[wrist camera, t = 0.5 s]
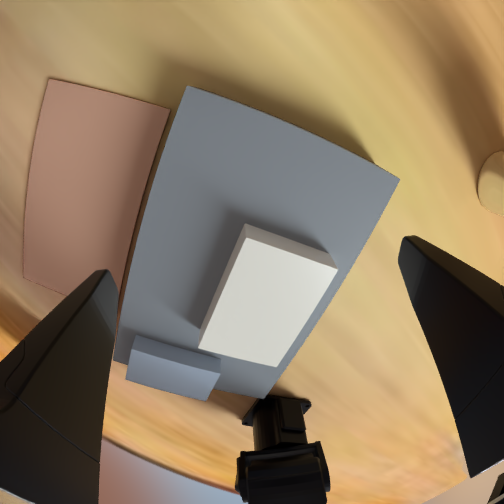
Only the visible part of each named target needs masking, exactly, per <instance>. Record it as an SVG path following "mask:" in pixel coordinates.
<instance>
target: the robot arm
mask: <svg viewBox="0 0 504 504" xmlns="http://www.w3.org/2000/svg"><path fill="white" fill-rule="evenodd" d="M398 264H399V267H400V270H401V273H402V276H403V279H404V282H405V285H406V288H407V291H408V294H409V297H410V300H411V303H412V306H413V308H414V311H415V313H416V315H417V318H418V320H419V322H420V325H421V327H422V330H423V332H424V335H425V337H426V340H427V342H428V345H429V347H430V350H431V352H432V355H433V358H434V360H435V363H436V366H437V368H438V371H439V374H440V377H441V379H442V382H443V385H444V388H445V391H446V394H447V397H448V400H449V403H450V406H451V409H452V413H453V416H454V419H455V423H456V426H457V430H458V433H459V437H460V440H461V444H462V448H463V452H464V456H465V459H466V464H467V468H468V472H469V475H470V478H473V477H475V476H476V475H478V474H480V473H482V472H484V471H486V470H488V469H490V468H491V467H493V466H495V465H497V464H498V463H500V462H502V461H503V460H504V286H502V285H500V284H499V283H498V282H496V281H494V280H493V279H491V278H489V277H488V276H486V275H485V274H483V273H481V272H480V271H478V270H476V269H475V268H473V267H471V266H470V265H468V264H466V263H464V262H463V261H461V260H459V259H457V258H456V257H454V256H452V255H450V254H449V253H447V252H445V251H443V250H442V249H440V248H438V247H436V246H434V245H433V244H431V243H429V242H427V241H425V240H423V239H421V238H420V237H418V236H415V235H412V236H405V237H404V238H403V239H402V243H401V247H400V252H399V256H398ZM118 299H119V292H118V288H117V286H116V284H115V281H114V279H113V277H112V274H111V272H110V271H109V270H108V269H101V270H96V271H94V272H93V273H92V274H91V275H90V276H89V277H88V278H87V279H86V280H84V281H83V282H82V283H81V284H80V285H79V286H78V287H77V288H76V289H75V290H73V291H72V292H71V293H70V294H69V295H68V296H67V297H66V298H65V299H64V300H63V301H62V302H61V303H59V304H58V305H57V306H56V307H55V308H54V309H53V310H52V311H51V312H50V313H49V314H48V315H47V316H46V317H45V318H44V319H43V320H42V321H41V322H40V323H39V324H38V325H37V326H36V327H35V328H34V329H33V330H32V331H31V332H30V333H29V334H28V335H27V336H26V337H25V338H24V339H23V340H22V341H21V342H20V343H19V344H18V345H17V346H16V347H15V348H14V349H13V350H12V351H11V352H10V353H9V354H8V355H7V356H6V357H5V358H4V359H3V360H2V361H1V362H0V504H98V496H99V471H100V464H99V462H100V453H101V440H102V429H103V420H104V411H105V402H106V394H107V387H108V380H109V373H110V367H111V360H112V354H113V349H114V342H115V334H116V322H117V310H118ZM310 407H311V402H310V401H304V400H298V399H291V398H285V397H279V396H273V395H266V397H265V398H264V399H261V398H258V399H257V401H256V402H255V403H254V405H253V406H252V407H251V409H250V410H249V411H248V413H247V414H246V416H245V417H244V418H243V420H242V425H246V426H252V427H253V436H254V449H255V451H247V452H246V451H240V457H239V458H237V475H236V481H235V490H236V491H237V492H239V493H240V495H241V497H242V500H243V502H244V503H246V502H248V504H326V503H327V498H326V492H329V491H330V476H329V471H328V466H327V463H326V460H325V456H324V453H323V449H322V446H321V443H320V441H316V442H315V443H309V444H308V442H307V437H306V431H305V430H306V427H305V421H304V416H303V415H304V414H305V413H306V412H307V410H308V409H309V408H310ZM487 504H504V473H502V474H501V475H499V477H498V480H497V481H496V484H495V487H494V489H493V492H492V494H491V496H490V499H489V501H488V503H487Z"/></svg>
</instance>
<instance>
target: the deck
mask: <svg viewBox="0 0 504 504" xmlns="http://www.w3.org/2000/svg"><path fill="white" fill-rule="evenodd" d="M399 181H400V179H399V178H397V177H396V176H394V175H393V174H391V173H389V172H388V171H386V170H384V169H383V168H381V167H379V166H378V165H376V164H374V163H372V162H370V161H368V160H366V159H365V158H363V157H361V156H359V155H357V154H355V153H353V152H351V151H349V150H347V149H345V148H343V147H341V146H339V145H337V144H335V143H333V142H331V141H329V140H327V139H325V138H322V137H320V136H318V135H316V134H314V133H312V132H309V131H307V130H305V129H303V128H301V127H298V126H296V125H294V124H291V123H289V122H287V121H285V120H282V119H280V118H277V117H275V116H273V115H270V114H268V113H265V112H263V111H260V110H258V109H255V108H253V107H250V106H247V105H245V104H242V103H240V102H237V101H234V100H231V99H229V98H226V97H223V96H220V95H217V94H215V93H212V92H209V91H206V90H203V89H200V88H197V87H192V86H187V87H186V89H185V92H184V95H183V97H182V100H181V102H180V105H179V108H178V110H177V113H176V116H175V118H174V121H173V124H172V127H171V130H170V132H169V135H168V138H167V141H166V144H165V147H164V150H163V153H162V156H161V159H160V162H159V165H158V168H157V172H156V175H155V178H154V181H153V185H152V188H151V191H150V195H149V198H148V202H147V205H146V209H145V212H144V216H143V220H142V223H141V227H140V231H139V235H138V239H137V242H136V247H135V251H134V255H133V259H132V263H131V267H130V272H129V276H128V281H127V285H126V290H125V295H124V300H123V305H122V310H121V315H120V321H119V326H118V332H117V338H116V344H115V350H114V356H113V360H114V361H117V362H120V363H123V364H126V365H128V364H129V359H130V354H131V349H132V346H133V343H134V340H135V336H136V335H139V336H142V337H145V338H148V339H151V340H154V341H158V342H161V343H164V344H168V345H171V346H174V347H178V348H181V349H185V350H188V351H192V352H196V353H199V354H203V355H207V356H211V357H215V358H218V359H221V374H220V376H219V378H218V380H217V382H216V383H215V385H214V387H213V389H217V390H221V391H226V392H230V393H235V394H240V395H245V396H250V397H255V398H261V399H264V398H265V397H266V395H267V394H268V393H269V391H270V390H271V388H272V387H273V386H274V384H275V383H276V382H277V380H278V379H279V377H280V376H281V375H282V373H283V372H284V370H285V369H286V368H287V366H288V365H289V363H290V362H291V360H292V359H293V358H294V356H295V355H296V353H297V352H298V350H299V349H300V347H301V346H302V345H303V343H304V342H305V340H306V339H307V337H308V336H309V334H310V333H311V331H312V330H313V328H314V327H315V325H316V324H317V322H318V320H319V319H320V317H321V316H322V314H323V313H324V311H325V310H326V308H327V306H328V305H329V303H330V302H331V300H332V299H333V297H334V295H335V294H336V292H337V291H338V289H339V287H340V286H341V284H342V282H343V281H344V279H345V278H346V276H347V274H348V273H349V271H350V269H351V268H352V266H353V264H354V263H355V261H356V259H357V257H358V256H359V254H360V252H361V251H362V249H363V247H364V245H365V244H366V242H367V240H368V238H369V237H370V235H371V233H372V231H373V229H374V228H375V226H376V224H377V222H378V220H379V219H380V217H381V215H382V213H383V211H384V209H385V207H386V206H387V204H388V202H389V200H390V198H391V196H392V194H393V192H394V190H395V188H396V187H397V185H398V183H399ZM245 223H246V224H249V225H251V226H254V227H257V228H260V229H263V230H265V231H268V232H271V233H274V234H277V235H279V236H282V237H285V238H288V239H290V240H293V241H296V242H299V243H301V244H304V245H307V246H310V247H312V248H315V249H318V250H320V251H323V252H326V253H329V254H330V255H331V257H332V259H333V261H334V262H335V264H336V266H337V268H338V271H337V273H336V275H335V276H334V278H333V280H332V281H331V283H330V285H329V286H328V288H327V290H326V291H325V293H324V295H323V296H322V298H321V299H320V301H319V303H318V304H317V306H316V307H315V309H314V311H313V312H312V314H311V315H310V317H309V319H308V320H307V322H306V323H305V325H304V326H303V328H302V330H301V331H300V333H299V334H298V336H297V337H296V339H295V340H294V342H293V343H292V345H291V346H290V348H289V350H288V351H287V353H286V354H285V356H284V357H283V358H282V360H281V361H280V363H279V364H278V366H277V367H273V366H268V365H264V364H259V363H255V362H250V361H246V360H242V359H238V358H234V357H230V356H226V355H222V354H218V353H214V352H210V351H206V350H203V349H199V348H198V343H199V333H200V328H201V326H202V323H203V321H204V318H205V316H206V314H207V311H208V309H209V306H210V304H211V302H212V299H213V297H214V294H215V292H216V290H217V287H218V285H219V283H220V280H221V278H222V275H223V273H224V271H225V268H226V266H227V264H228V261H229V259H230V257H231V254H232V252H233V250H234V247H235V245H236V243H237V240H238V238H239V236H240V233H241V231H242V229H243V226H244V224H245Z"/></svg>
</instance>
